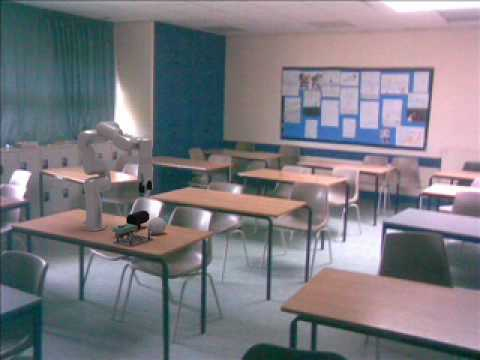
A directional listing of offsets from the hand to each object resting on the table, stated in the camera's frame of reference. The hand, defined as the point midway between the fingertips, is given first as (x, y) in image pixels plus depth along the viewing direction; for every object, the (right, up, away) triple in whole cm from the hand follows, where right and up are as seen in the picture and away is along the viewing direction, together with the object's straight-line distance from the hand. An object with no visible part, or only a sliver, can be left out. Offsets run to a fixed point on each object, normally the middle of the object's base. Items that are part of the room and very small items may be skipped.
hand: (145, 191), depth 301 cm
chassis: (-7, -28, 0) cm, 29 cm away
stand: (-14, -26, +12) cm, 32 cm away
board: (-14, -23, +12) cm, 30 cm away
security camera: (-10, -24, +28) cm, 38 cm away
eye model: (+4, -26, +18) cm, 32 cm away
